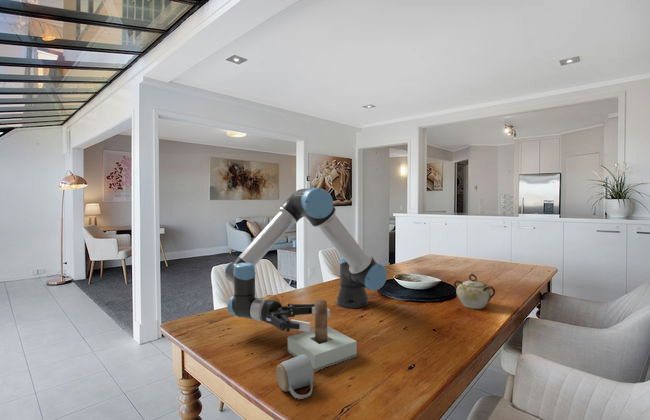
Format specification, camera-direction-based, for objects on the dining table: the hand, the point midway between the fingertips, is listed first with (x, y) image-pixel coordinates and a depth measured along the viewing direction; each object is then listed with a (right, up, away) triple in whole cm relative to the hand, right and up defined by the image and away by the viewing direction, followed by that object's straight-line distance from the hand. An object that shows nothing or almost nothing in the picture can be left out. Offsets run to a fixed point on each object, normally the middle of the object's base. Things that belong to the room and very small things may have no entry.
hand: (320, 320), depth 106 cm
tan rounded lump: (-24, -10, +53) cm, 59 cm away
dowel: (0, -10, 0) cm, 10 cm away
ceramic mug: (-6, -12, -19) cm, 23 cm away
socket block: (0, -11, 0) cm, 11 cm away
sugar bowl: (+70, -9, +47) cm, 85 cm away
